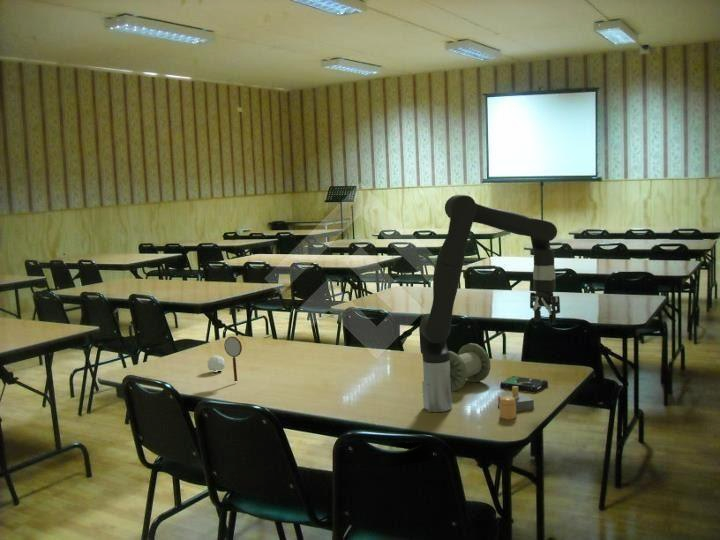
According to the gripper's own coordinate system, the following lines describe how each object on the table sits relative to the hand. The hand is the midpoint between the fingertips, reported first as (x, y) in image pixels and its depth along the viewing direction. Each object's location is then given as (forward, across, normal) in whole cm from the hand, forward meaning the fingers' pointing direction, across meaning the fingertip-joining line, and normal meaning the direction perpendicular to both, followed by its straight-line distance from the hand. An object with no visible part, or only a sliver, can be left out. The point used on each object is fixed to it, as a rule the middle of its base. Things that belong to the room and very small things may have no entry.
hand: (544, 323), depth 264 cm
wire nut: (+27, +12, -24) cm, 38 cm away
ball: (+29, -111, -96) cm, 150 cm away
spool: (+27, -30, -17) cm, 44 cm away
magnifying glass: (+29, -87, -93) cm, 130 cm away
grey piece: (+27, +4, -16) cm, 31 cm away
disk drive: (+27, -14, +1) cm, 31 cm away
